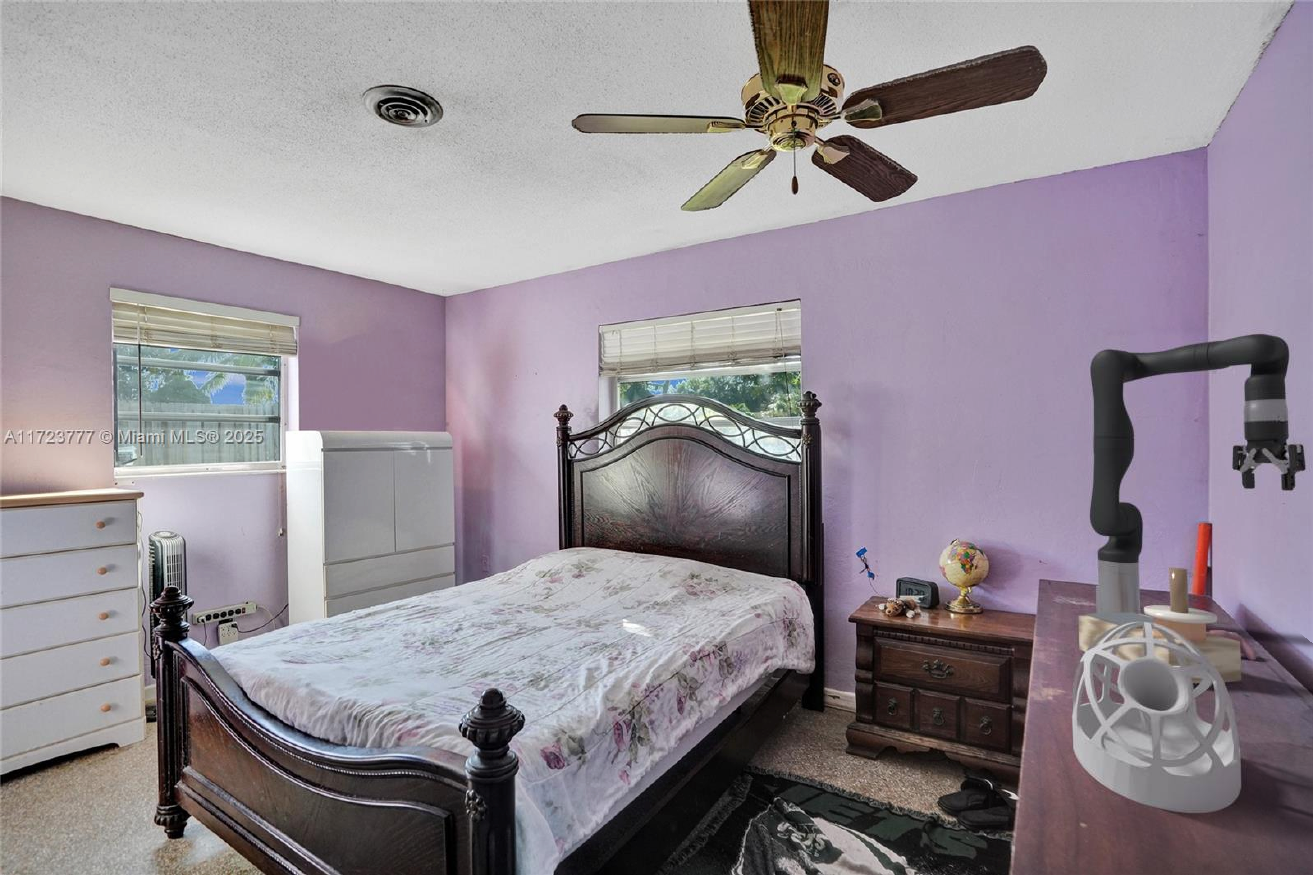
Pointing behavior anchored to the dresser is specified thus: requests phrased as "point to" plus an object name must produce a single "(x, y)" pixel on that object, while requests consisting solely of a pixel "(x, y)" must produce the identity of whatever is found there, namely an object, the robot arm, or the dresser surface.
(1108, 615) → the mat
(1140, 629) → the riser
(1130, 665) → the lampshade
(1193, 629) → the bowl
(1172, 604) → the lid
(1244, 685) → the dresser surface
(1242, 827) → the dresser surface
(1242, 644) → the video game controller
